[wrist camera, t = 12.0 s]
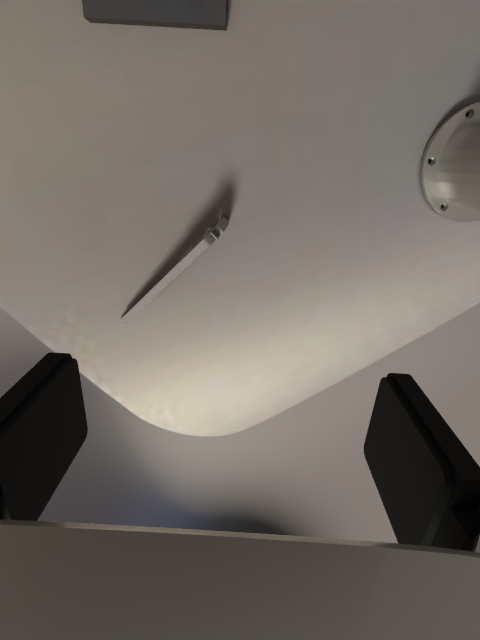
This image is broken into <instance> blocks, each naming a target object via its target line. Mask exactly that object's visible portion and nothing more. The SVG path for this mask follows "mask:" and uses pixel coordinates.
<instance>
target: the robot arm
mask: <svg viewBox="0 0 480 640" xmlns="http://www.w3.org/2000/svg"><path fill="white" fill-rule="evenodd" d="M466 112H467V117H466ZM429 159H430V163H429V164H428V160H429ZM419 177H420V187H421V190H422V194H423V196H424V198H425V200H426V202H427V204H428V205H429V206H430V207H431V208H432V209H433V210H434V211H435V212H436V213H438V214H439V215H441V216H443V217H446V218H448V219H451V220H455V221H462V222H471V221H479V220H480V101H479V102H476V103H473V104H470V105H467V106H465V107H464V108H462V109H460V110H458V111H457V112H455V113H454V114H452V115H451V116H450V117H449V118H447V119H446V120H445V121H444V122H443V123H442V124H441V125H440V127H439V128H438V129H437V130H436V131H435V133H434V134H433V136H432V137H431V139H430V140H429V142H428V144H427V146H426V149H425V151H424V153H423V157H422V160H421V164H420V173H419ZM441 205H442V208H440V207H441ZM87 430H88V428H87V421H86V414H85V408H84V401H83V395H82V388H81V381H80V375H79V368H78V363H77V360H76V359H72V356H71V355H70V354H67V353H48V354H46V355H45V356H44V357H43V358H42V359H41V360H40V361H39V362H38V363H37V364H36V365H35V366H34V367H33V368H32V369H31V370H30V371H29V372H27V374H25V375H24V376H23V377H22V378H21V379H20V380H19V381H18V382H17V383H16V384H15V385H14V386H13V387H12V388H11V389H9V390H8V391H7V392H6V393H5V394H4V395H3V396H2V397H1V398H0V640H480V467H479V466H478V464H477V463H476V462H475V460H474V459H473V458H472V456H471V455H470V454H469V452H468V451H467V450H466V448H465V447H464V446H463V444H462V443H461V442H460V440H459V439H458V438H457V436H456V435H455V434H454V432H453V431H452V430H451V428H450V427H449V426H448V424H447V423H446V422H445V420H444V419H443V418H442V416H441V415H440V414H439V412H438V411H437V410H436V408H435V407H434V406H433V404H432V403H431V402H430V401H429V399H428V398H427V396H426V395H425V394H424V392H423V391H422V390H421V388H420V387H419V386H418V384H417V383H416V382H415V380H414V379H413V378H412V376H411V375H409V374H398V373H397V374H396V373H389V374H388V375H387V377H383V378H382V379H381V381H380V384H379V388H378V393H377V396H376V400H375V404H374V408H373V412H372V416H371V420H370V424H369V428H368V432H367V435H366V440H365V444H364V454H365V458H366V461H367V463H368V466H369V469H370V471H371V474H372V476H373V479H374V482H375V484H376V487H377V489H378V492H379V494H380V497H381V499H382V502H383V505H384V507H385V510H386V512H387V515H388V518H389V520H390V523H391V525H392V528H393V530H394V533H395V536H396V538H397V541H398V543H399V544H396V543H383V542H373V541H358V540H344V539H329V538H315V537H300V536H284V535H270V534H255V533H238V532H223V531H206V530H189V529H173V528H157V527H140V526H122V525H103V524H86V523H67V522H50V521H37V520H38V518H39V516H40V515H41V513H42V512H43V510H44V508H45V506H46V505H47V503H48V502H49V500H50V498H51V496H52V495H53V493H54V491H55V490H56V488H57V486H58V485H59V483H60V481H61V479H62V478H63V476H64V474H65V473H66V471H67V470H68V468H69V466H70V464H71V463H72V461H73V459H74V458H75V456H76V454H77V453H78V451H79V449H80V448H81V446H82V444H83V443H84V441H85V439H86V436H87Z"/></svg>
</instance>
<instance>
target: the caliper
mask: <svg viewBox="0 0 480 640" xmlns="http://www.w3.org/2000/svg"><path fill="white" fill-rule="evenodd" d="M228 224H229V221H228V220H227V219H226V218H225V217H224V216H223V217H222V218H221V219H220V220H219V222H218V223H217V224H216V225H215V226H213V227H212V228H211V229H210V230H209V231H208V232H207V234H206V235H205V236H204V237H203V238H202V239H201V240H200V241H199V242H198V243H197V244H196V245H195V246H194V247H193V248H192V249H191V250H190V251H189V252H188V253H187V254H186V255H185V256H184V257H183V258H182V259H181V260H180V261H179V262H178V263H177V264H176V265H175V266H174V267H173V268H172V269H171V270H170V271H169V272H168V273H167V274H166V275H165V276H164V277H163V278H162V279H161V280H160V281H159V282H158V283H157V284H156V285H155V286H154V287H153V288H151V289H150V290H149V291H148V292H147V293H146V294H145V295H144V296H143V297H142V298H141V299H140V300H139V301H138V302H137V303H136V304H135V305H134V306H133V307H132V308H131V309H130V310H129V311H128V312H127V313H126V314H125V315H124V316H123V317H122V318H121V320H122V321H123V322H125V323H128V322H129V321H130V320H131V319H132V318H133V317H134V316H135V315H136V314H137V313H138V312H140V311H141V310H142V309H143V308H144V307H145V306H146V305H147V304H148V303H149V302H150V301H151V300H152V299H153V298H154V297H155V296H156V295H157V294H158V293H159V292H161V291H162V290H163V289H164V288H165V287H166V286H167V285H168V284H169V283H170V282H171V281H172V280H173V279H174V278H175V277H176V276H177V275H178V274H179V273H180V272H181V271H183V270H184V269H185V268H186V267H187V266H188V265H189V264H190V263H191V262H192V261H193V260H195V259H196V258H197V257H198V256H199V255H200V254H201V253H202V252H203V251H204V250H205V249H206V248H207V247H208V246H210V245H211V244H212V243H213V242H214V241H215V240H217V239H218V237H219V236H220V235H221V234H222V233H223V232H224V230H225V229H226V228H227V226H228Z"/></svg>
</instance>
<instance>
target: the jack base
mask: <svg viewBox="0 0 480 640" xmlns="http://www.w3.org/2000/svg"><path fill="white" fill-rule="evenodd" d="M82 4H83V14H84V18H86V19H87V20H88V21H89V22H91V23H108V24H125V25H143V26H160V27H177V28H194V29H211V30H226V27H227V0H82Z"/></svg>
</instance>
